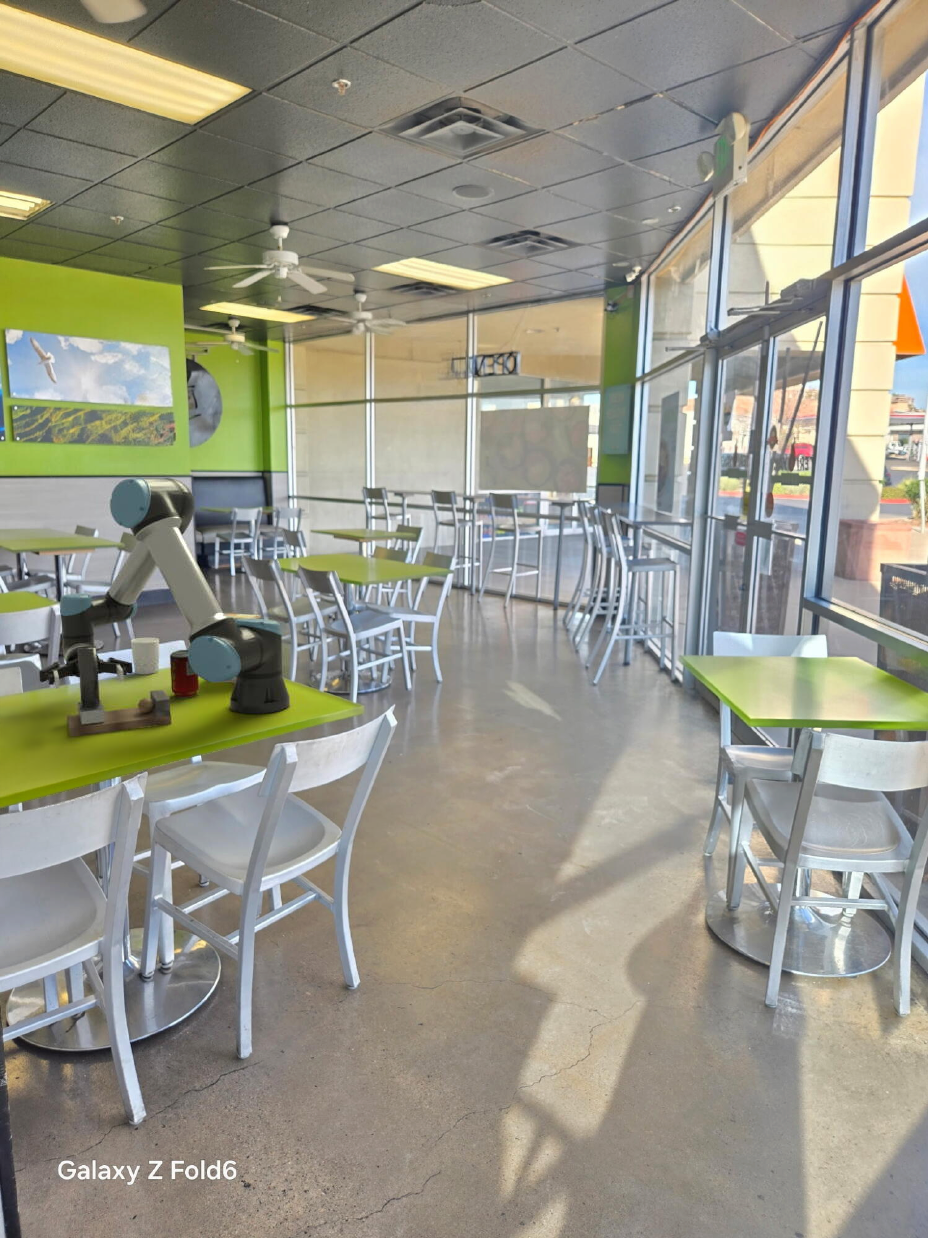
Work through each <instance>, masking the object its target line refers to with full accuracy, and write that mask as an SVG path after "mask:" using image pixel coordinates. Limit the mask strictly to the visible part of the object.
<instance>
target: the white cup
mask: <svg viewBox="0 0 928 1238" xmlns="http://www.w3.org/2000/svg"><path fill="white" fill-rule="evenodd" d="M130 644H131V652H132V653H131V655H132V664H133V665H134V666H133V668H134V669H133V671H134V673H135V674H136V675H151V673H153V674H157V673H158V672H159V663H160V639H159V638H157V637H139V638H134V639H131V640H130ZM157 671H158V672H157ZM156 672H157V673H156Z"/></svg>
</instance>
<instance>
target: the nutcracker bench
mask: <svg viewBox="0 0 928 1238" xmlns="http://www.w3.org/2000/svg"><path fill="white" fill-rule="evenodd" d="M149 693H150V698H149V697H143V698H142V699H140V700H139V702H138V704H137V707H132V708H131V707H130V708H122V709H115V710H114V709H113V710H106V711H105V710H104V711H105V722H98V723H90V724H81V721H80V718H79V714H71V715H66V722H67V728H68V732H69V735H70V737H74V738H75V737H80V736H88V735H97V734H103V733H109V732H111V733H112V732H118V731H117V730H120V731H124V730H125V731H126V730H133V729H132V728H135V729H141V728H140V727H143V728H148V726H150V727H155V726H154V725H158V726H165V724H166V725H172V713H171V699H170V697H169V696H168V695H167V693H166V692H165V691H164V689H157V690H150V691H149ZM96 733H97V734H96Z"/></svg>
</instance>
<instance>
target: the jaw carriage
mask: <svg viewBox="0 0 928 1238" xmlns="http://www.w3.org/2000/svg"><path fill="white" fill-rule="evenodd" d="M77 650H78V664H79V677H78V678H79V690H80V701H77V710H78V711H77V712H78V714H79V718H80V721H81V724H90V723H98V722H105V708H104V705H103V703H102V699H101V698H100V686H99V684H100V683H99V674H98V666H97V655H98V653H97V647H96V646H95V645H94V646H84V647H79V648H77ZM78 714H77V715H78Z"/></svg>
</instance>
